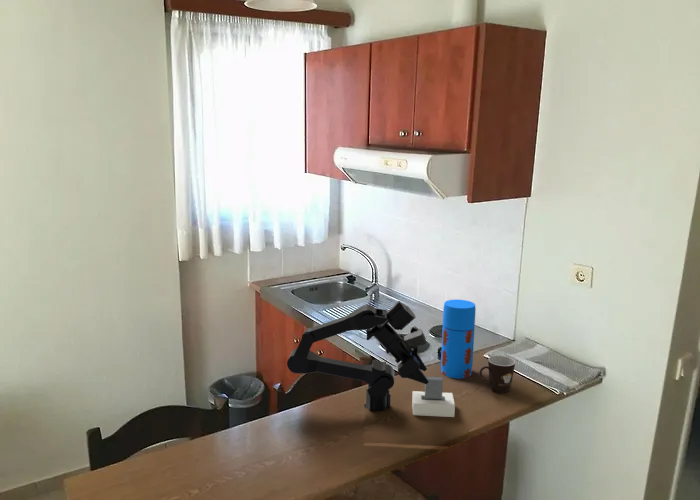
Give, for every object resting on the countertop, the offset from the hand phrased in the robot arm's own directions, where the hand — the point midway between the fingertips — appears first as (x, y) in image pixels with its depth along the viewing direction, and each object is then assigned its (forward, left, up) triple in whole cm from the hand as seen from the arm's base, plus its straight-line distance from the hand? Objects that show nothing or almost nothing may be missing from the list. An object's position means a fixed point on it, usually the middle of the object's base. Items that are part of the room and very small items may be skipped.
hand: (426, 376), depth 167 cm
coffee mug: (+29, +6, -11) cm, 32 cm away
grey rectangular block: (+2, -1, -10) cm, 11 cm away
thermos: (+24, +22, -11) cm, 35 cm away
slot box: (+2, -1, -11) cm, 11 cm away
